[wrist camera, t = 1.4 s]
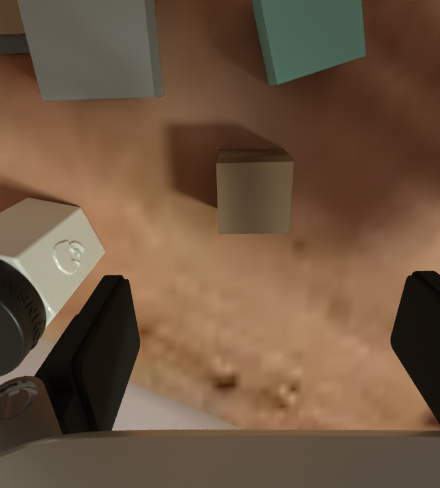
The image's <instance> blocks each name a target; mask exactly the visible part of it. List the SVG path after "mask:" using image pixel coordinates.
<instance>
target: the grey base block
mask: <svg viewBox="0 0 440 488" xmlns="http://www.w3.org/2000/svg"><path fill="white" fill-rule="evenodd" d="M17 2H18V6H19V10H20V14H21V18H22V22H23V26H24V30H25V34H26V38H27V42H28V46H29V50H30V54H31V58H32V62H33V66H34V70H35V74H36V78H37V82H38V86H39V90H40V94H41V98H42V101H53V100H85V99H117V98H148V97H160V96H163V86H162V76H161V65H160V55H159V45H158V34H157V24H156V13H155V3H154V0H17Z"/></svg>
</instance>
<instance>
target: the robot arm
mask: <svg viewBox="0 0 440 488" xmlns="http://www.w3.org/2000/svg"><path fill="white" fill-rule="evenodd" d="M390 340H391V346H392V348H393V350H394V352H395V353H396V355H397V357H398V358H399V360H400V361H401V363H402V365H403V366H404V368H405V369H406V371H407V373H408V374H409V376H410V377H411V379H412V381H413V382H414V384H415V385H416V387H417V389H418V390H419V392H420V393H421V395H422V397H423V398H424V400H425V401H426V403H427V404H428V406H429V408H430V409H431V411H432V412H433V414H434V416H435V417H436V419H437V420H438V422H439V424H440V275H439V274H438V273H437V272H435V271H415V272H413V273H412V275H411V276H408V277H407V279H406V282H405V286H404V290H403V293H402V297H401V301H400V304H399V308H398V312H397V316H396V319H395V323H394V327H393V331H392V334H391V339H390ZM139 348H140V337H139V332H138V326H137V321H136V316H135V310H134V305H133V299H132V294H131V289H130V283H129V280H128V279H124V278H123V276H122V275H105V276H104V277H103V278H102V279H101V281H100V282H99V284H98V286H97V287H96V289H95V290H94V292H93V293H92V295H91V296H90V298H89V299H88V301H87V302H86V304H85V305H84V307H83V308H82V310H81V311H80V313H79V314H77V315H76V316H75V317H74V318H73V319H72V321H71V322H70V324H69V325H68V327H67V328H66V330H65V331H64V333H63V334H62V336H61V337H60V339H59V340H58V342H57V343H56V344H55V346H54V348H53V349H52V351H51V352H50V353H49V355H48V356H47V358H46V360H45V361H44V362H43V364H42V365H41V367H40V368H39V370H38V371H37V373H36V374H35V376H23V377H17V378H14V379H12V380H9V381H6V382H5V383H3V384H1V385H0V488H440V431H417V430H127V431H112V428H113V425H114V422H115V419H116V416H117V413H118V410H119V407H120V404H121V401H122V398H123V395H124V393H125V390H126V387H127V384H128V381H129V378H130V375H131V372H132V369H133V366H134V363H135V360H136V357H137V355H138V352H139Z"/></svg>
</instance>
